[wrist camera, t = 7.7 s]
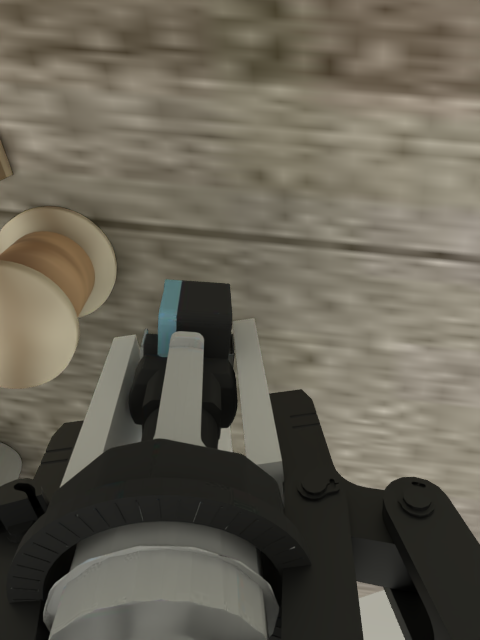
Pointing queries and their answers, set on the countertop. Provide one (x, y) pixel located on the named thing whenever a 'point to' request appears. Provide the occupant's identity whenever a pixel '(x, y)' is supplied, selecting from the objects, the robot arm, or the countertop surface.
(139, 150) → the countertop surface
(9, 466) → the coffee cup
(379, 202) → the countertop surface
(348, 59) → the countertop surface
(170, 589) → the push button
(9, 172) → the terminal board
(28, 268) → the bobbin
